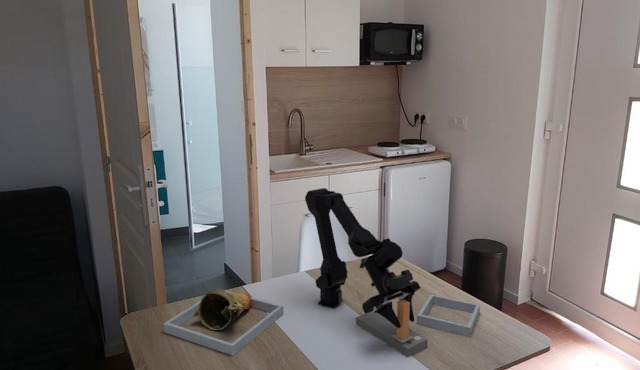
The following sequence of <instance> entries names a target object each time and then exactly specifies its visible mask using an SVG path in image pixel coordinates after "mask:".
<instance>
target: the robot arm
mask: <svg viewBox="0 0 640 370" xmlns="http://www.w3.org/2000/svg"><path fill="white" fill-rule="evenodd" d="M304 199H305V200H304V201H305V204H306V206H307V211H308V212H310V214H311V215H312V216H313V217H314V220H315V225H316V230H317V235H318V241H319V245H320V250H321V254H322V262H321V265H320V268H319V270H320V276H319V277H318V278H316V280H315V286H316V287H317V288H318V289H319V291H320V292H319V293H320V295H319V298H320V300H319V301H318V302H317V305H320V306H324V307H328V308H332V309H336V308H337V307H338V306H339V305H340V304H341V303H342V302H343V290H342V289H341V288H342V286H344V285H345V283H346V280H347V278H348V273H349V271H348V269H347V263H346V261H344V260H341V258H340V257H339V255H338V250H337V246H336V245H337V244H336V241H335V236H334V231H333V227H332V225H333V224H332V221H331V216H330V213H331V212H332V213H333V215H334V216H335V218H336V220H337V221H338V222H339V224H340V226H341V227H342V228H343V230H344V232H345V233H346V236H347V239H348V241H347V245H349V248H350V249H351V252H352V254H353V255H354V256H355V257H356V258H357V257H358V258H361V260H360V265H359V268H360V269H364V268H365V270H366V272H367V274H368V276H369V278H370V280H371V283H370V285H371V287H372V288H373V287H375V289H376V291H377V293H378V294H375V295H373V296H371V297H369V298H368V299H367V300H365V301H364V302H363V303H362V307H361V308H362V310H363V312H364V314H366V313H369V312H371V311H373V310H376V311H374V312H375V313H378V314H380V315H381V316H383V317H384V318H386V319H387V320H388V321H390V322H391V323H392V324H393V325H395V326H396V327H397V328H400V327H401V325H400V322H399V320H398V318H397V313H396V312H395V311H394V309H393V301H392V300H395V299H397V298H398V301H397V302H396V303H397V304H398V302H399V301H401V300H403V299H404V300H406V301H408V302H410V314H409V322H411V323H413V322H415V315H414V310H413V303H412V300H413V296H414V295H415V293H416V292H417V291H419V290H421V285H420V284H419V281H416V280H414V277H413V274H412V272H411V270H409V269H405V270H402V271H401V272H400V274H398V275H396V274H395V272H393V271H391V272H390V271H389V268H390V267H391V266H393V265H394V264H395V263H397V262H398V261H399V260H400V259H401V258H402V256H403V250H402V247H401V246H400V245H399V244H398V243H396V242H394V241H392V240H391V239H390V238H384V239H383V240H379V239H377V238H376V237H375V235H374V234H373V233H371V231H370V230H368V229H366V228H365V227H363V226H362V225H361V224H360V222H359V220H358V218H356V216H355V215H354V213H353V211H351V209H350V207H349V206H348V204H347V203H346V201H345V200H344V196H343V194H342V193H340V192H336V191H333V190H328V188H326V187H322V188H317V189H312V190H308V191H307V192H306V194H305V198H304ZM367 256H368V257H367ZM362 257H364V258H362Z"/></svg>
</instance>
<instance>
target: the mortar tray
mask: <svg viewBox="0 0 640 370" xmlns="http://www.w3.org/2000/svg"><path fill="white" fill-rule="evenodd" d="M224 290H225V289H224ZM225 291H226V292H229V293H234V292H232V291H228V290H225ZM250 297H251V296H250ZM251 301H252V305H251V306H250V308H252V309H257V310H261V311H264V312H268V313H269V314H267V315H266V316H265V317H264V318H262V319H261V320H260V321H259V322H257V323H256V324H254V325H253V326H252V327H251V328H249V329H248V330H246V332H244V333H243V334H242V335H240V336H239V337H238V338H237V339H236V340H234V341H233V342H232V343H231V342H229V341H225V340H222V339H219V338H217V337H213V336H210V335H206V334H203V333H201V332H198V331H194V330H192V329H189V328H186V327H183V326H180V325H182V324H183V323H186V321H189V320H190V319H191V318H194V316H193V314H194V313H195V312H196V311H197V310H198V308H199V304H200V302H201V300H200V301H198V302H197V303H194V304H193V305H191V306H190V307H188V308H187V309H185V310H183V311H181V312H180V313H179V314H176V315H175V316H173V317H172V318H170V319H168V320H167V321H165V322H164V323H163V330H164V334H168V335H170V336H174V337H176V338H180V339H182V340H185V341H188V342H192V343H194V344H197V345H200V346H203V347H206V348H208V349H212V350H215V351H218V352H221V353H223V354H226V355H229V356H232V357H233V356H235V355H236V354H238V352H239V351H241V350H242V349H243V348H244V347H246V346H247V345H248V344H250V343H251V342H252V341H253V340H254V339H256V337H258V336H259V335H260V334H262V333H263V332H264V331H266V329H267V328H269V327H270V326H272V324H273V323H274V322H276V321H278V319H280V318H281V317H282V316H283V315H284V305H282V304H279V303H275V302H270V301H267V300H262V299H259V298H256V297H251Z"/></svg>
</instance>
